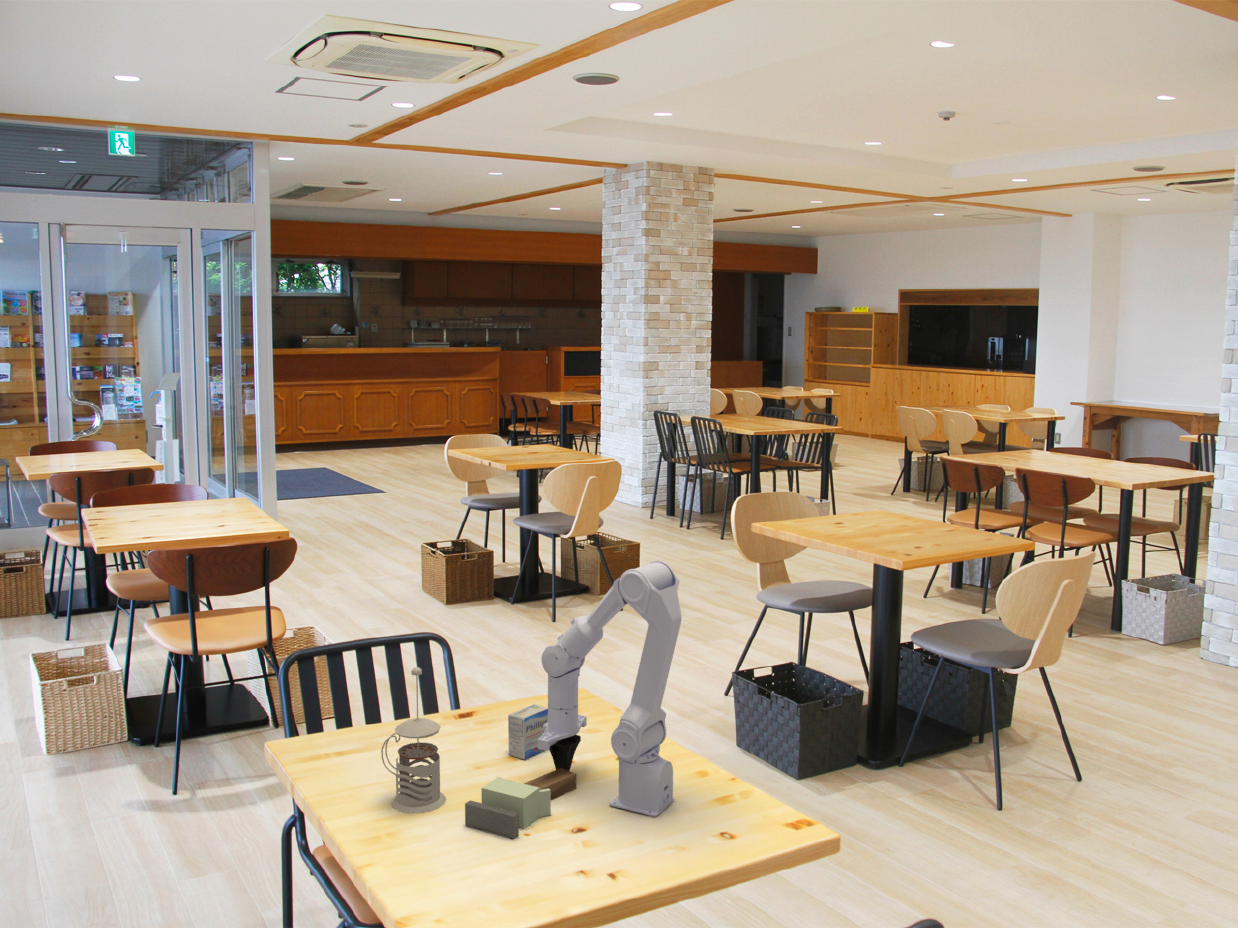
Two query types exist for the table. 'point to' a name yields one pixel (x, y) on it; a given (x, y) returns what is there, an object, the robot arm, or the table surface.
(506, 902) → the table surface
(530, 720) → the medicine box
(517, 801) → the tunnel block
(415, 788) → the french press
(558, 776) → the walnut bar
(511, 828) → the rail
